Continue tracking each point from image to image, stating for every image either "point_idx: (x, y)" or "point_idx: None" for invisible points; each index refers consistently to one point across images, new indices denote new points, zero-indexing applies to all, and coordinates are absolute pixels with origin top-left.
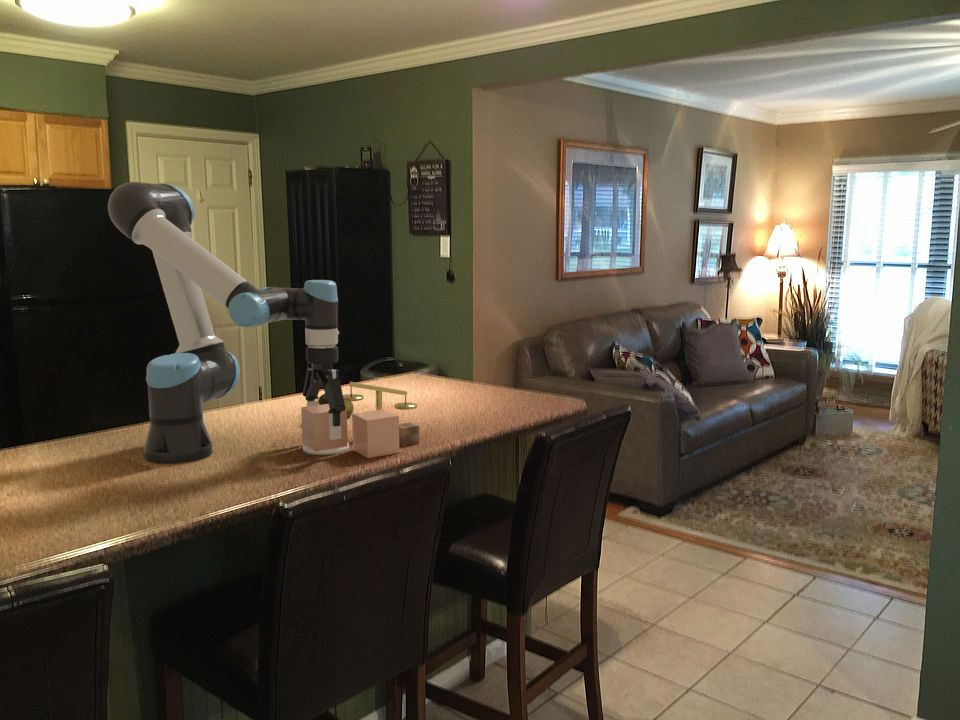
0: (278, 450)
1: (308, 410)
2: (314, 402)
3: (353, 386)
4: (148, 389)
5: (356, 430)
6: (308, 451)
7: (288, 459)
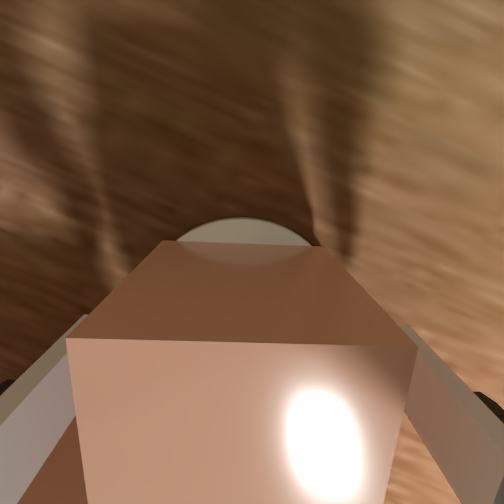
0: (351, 130)
1: (246, 351)
2: (481, 495)
3: None
4: None
5: (78, 460)
6: (208, 223)
7: (174, 104)
